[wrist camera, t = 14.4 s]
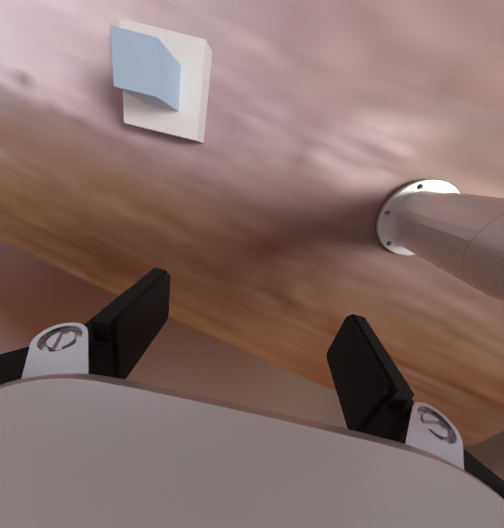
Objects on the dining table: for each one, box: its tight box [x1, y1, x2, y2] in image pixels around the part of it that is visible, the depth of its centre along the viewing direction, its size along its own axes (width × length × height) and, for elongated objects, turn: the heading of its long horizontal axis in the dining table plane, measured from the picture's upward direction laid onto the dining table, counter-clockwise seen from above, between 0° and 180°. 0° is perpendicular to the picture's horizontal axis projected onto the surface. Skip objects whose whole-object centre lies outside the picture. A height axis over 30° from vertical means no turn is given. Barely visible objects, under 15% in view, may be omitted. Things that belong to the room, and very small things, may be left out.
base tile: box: [119, 18, 212, 143], centre depth 29 cm, size 11×11×3 cm
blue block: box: [110, 25, 181, 111], centre depth 25 cm, size 5×5×6 cm
